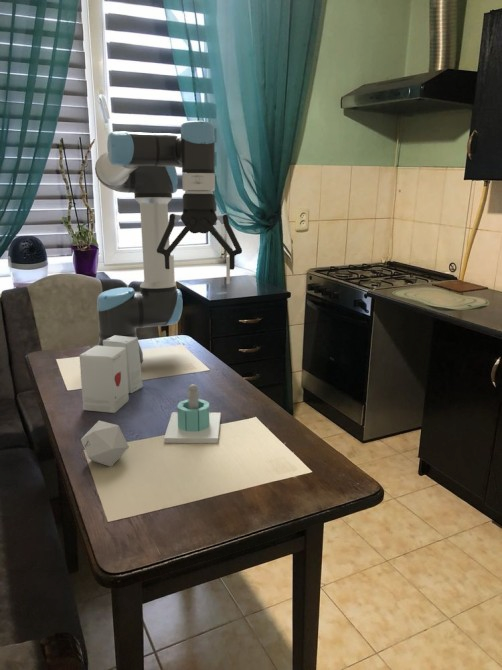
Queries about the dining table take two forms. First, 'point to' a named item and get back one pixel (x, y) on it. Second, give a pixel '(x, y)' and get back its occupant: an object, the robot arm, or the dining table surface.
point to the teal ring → (193, 416)
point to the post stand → (201, 436)
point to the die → (104, 443)
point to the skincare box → (129, 359)
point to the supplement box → (104, 378)
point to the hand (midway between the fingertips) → (200, 282)
